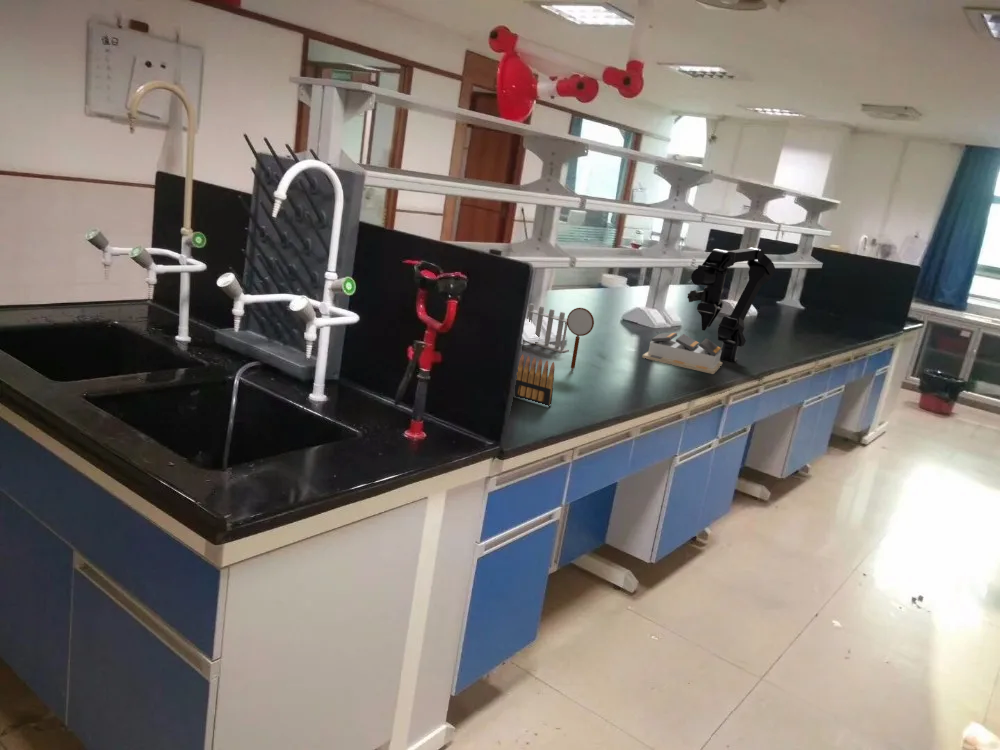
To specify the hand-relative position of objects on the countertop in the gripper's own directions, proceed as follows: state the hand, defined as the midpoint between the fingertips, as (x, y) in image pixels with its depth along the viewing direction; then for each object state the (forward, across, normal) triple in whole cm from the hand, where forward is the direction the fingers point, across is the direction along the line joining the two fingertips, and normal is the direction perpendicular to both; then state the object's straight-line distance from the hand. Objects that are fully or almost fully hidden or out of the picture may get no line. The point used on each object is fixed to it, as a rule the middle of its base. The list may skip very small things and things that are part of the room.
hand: (705, 328), depth 267 cm
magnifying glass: (+12, +56, -29) cm, 64 cm away
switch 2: (+6, +6, +4) cm, 9 cm away
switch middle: (+6, +6, -4) cm, 9 cm away
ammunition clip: (+12, +96, -26) cm, 100 cm away
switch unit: (+12, +7, -4) cm, 15 cm away
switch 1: (+6, +6, -12) cm, 15 cm away
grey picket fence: (+12, +31, -51) cm, 61 cm away
